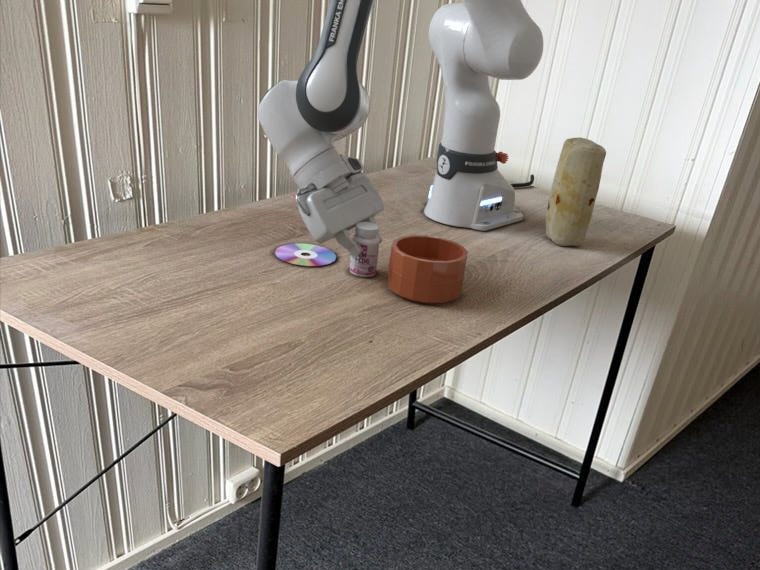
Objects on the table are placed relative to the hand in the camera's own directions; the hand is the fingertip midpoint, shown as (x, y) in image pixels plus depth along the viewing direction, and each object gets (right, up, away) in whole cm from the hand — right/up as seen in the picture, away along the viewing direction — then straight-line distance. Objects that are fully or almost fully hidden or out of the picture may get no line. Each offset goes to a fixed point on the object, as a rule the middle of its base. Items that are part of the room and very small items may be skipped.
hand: (368, 249), depth 144 cm
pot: (+10, -7, -1) cm, 12 cm away
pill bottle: (-1, -3, +3) cm, 5 cm away
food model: (+40, +10, +28) cm, 50 cm away
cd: (-12, +1, +7) cm, 13 cm away
